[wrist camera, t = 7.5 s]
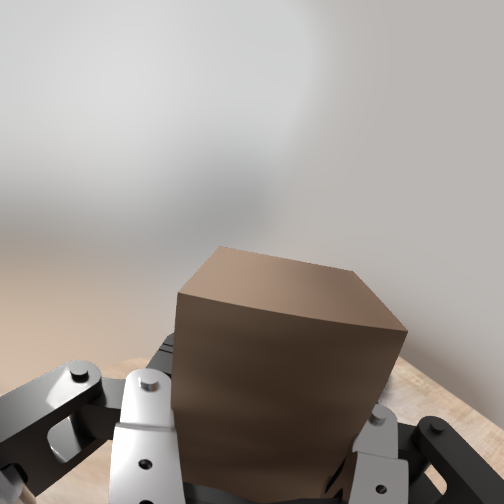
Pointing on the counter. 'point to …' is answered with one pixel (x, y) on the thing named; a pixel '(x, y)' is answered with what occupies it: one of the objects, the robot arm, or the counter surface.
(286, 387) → the walnut stamp
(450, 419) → the counter surface
